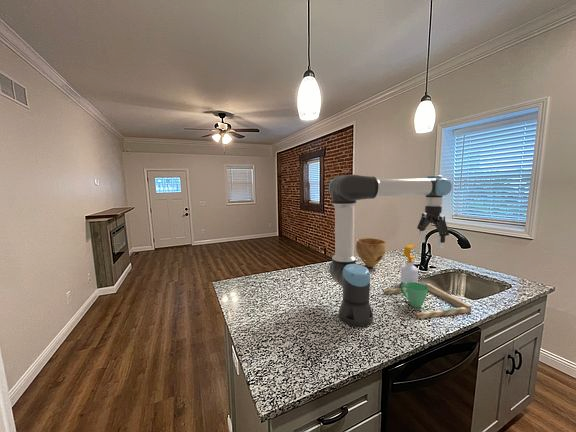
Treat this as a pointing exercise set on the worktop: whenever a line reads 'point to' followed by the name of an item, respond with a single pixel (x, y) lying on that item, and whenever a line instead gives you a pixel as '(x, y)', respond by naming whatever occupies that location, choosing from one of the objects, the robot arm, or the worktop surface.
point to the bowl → (370, 250)
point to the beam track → (447, 311)
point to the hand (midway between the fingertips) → (431, 245)
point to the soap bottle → (409, 267)
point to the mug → (414, 293)
